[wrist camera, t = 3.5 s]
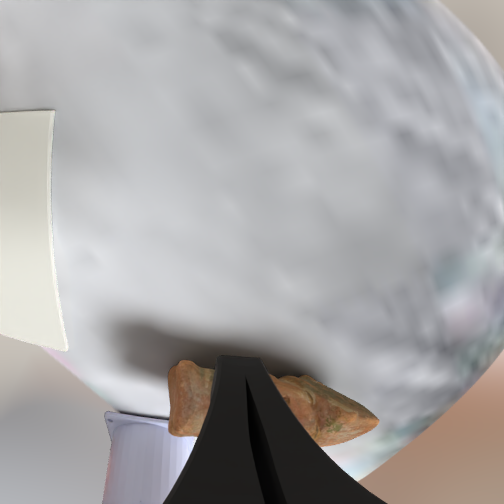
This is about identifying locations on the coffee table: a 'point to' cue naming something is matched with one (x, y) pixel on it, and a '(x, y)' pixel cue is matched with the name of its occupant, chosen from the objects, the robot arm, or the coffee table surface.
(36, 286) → the felt mat
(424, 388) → the coffee table surface
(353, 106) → the coffee table surface
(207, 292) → the coffee table surface
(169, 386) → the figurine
